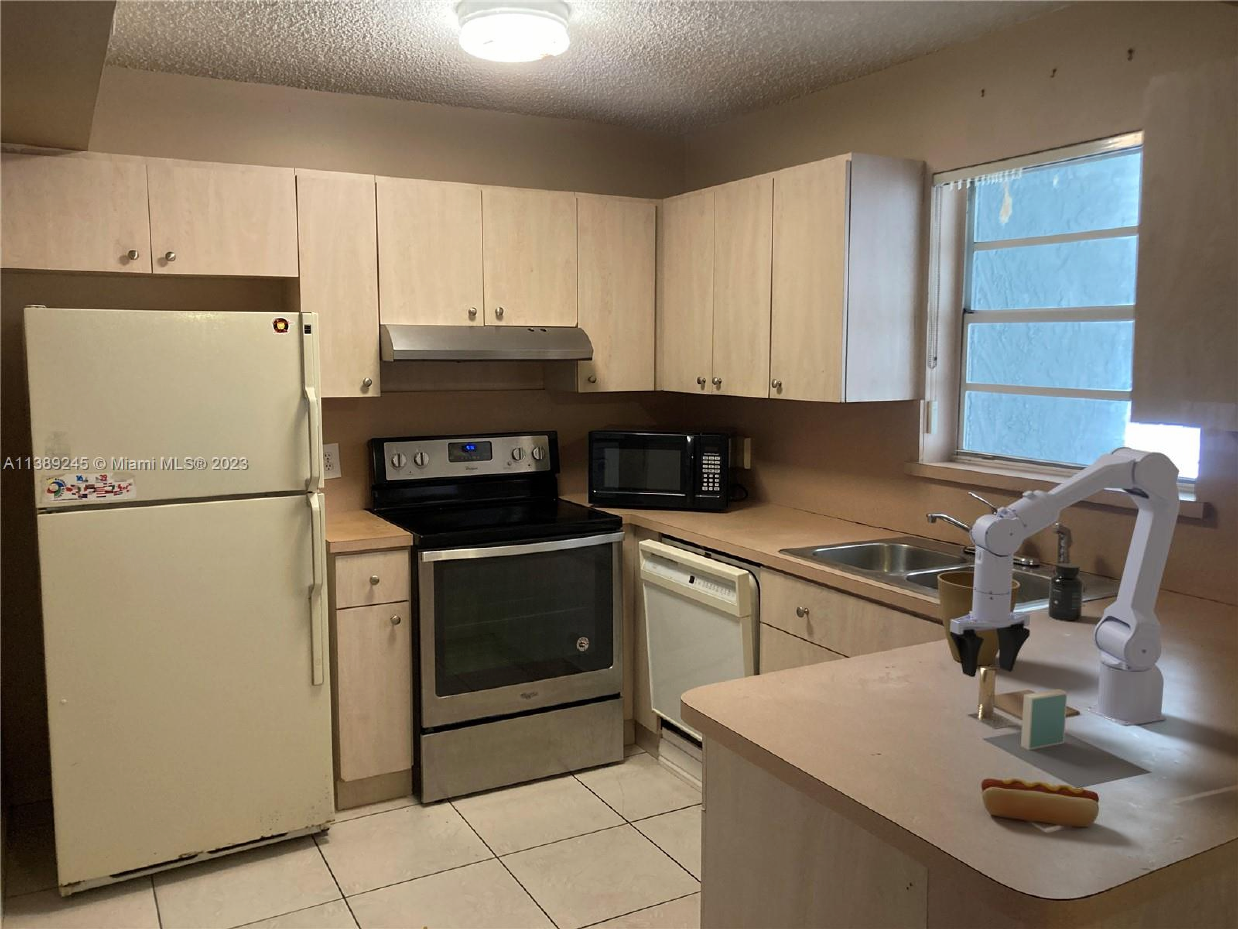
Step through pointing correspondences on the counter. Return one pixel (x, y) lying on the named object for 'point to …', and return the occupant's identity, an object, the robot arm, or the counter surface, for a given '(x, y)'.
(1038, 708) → the tile
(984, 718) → the stamp with brass handle
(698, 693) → the counter surface
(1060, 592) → the supplement bottle
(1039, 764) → the mat
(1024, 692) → the board
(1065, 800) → the food
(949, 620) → the plant pot
